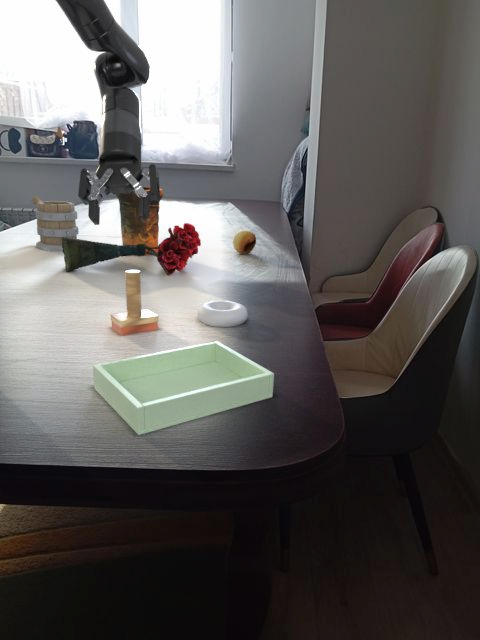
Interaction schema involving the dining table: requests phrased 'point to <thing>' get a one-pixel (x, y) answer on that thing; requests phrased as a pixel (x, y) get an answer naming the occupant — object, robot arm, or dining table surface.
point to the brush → (134, 309)
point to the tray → (180, 385)
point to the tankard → (54, 223)
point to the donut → (222, 313)
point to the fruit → (244, 241)
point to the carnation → (135, 250)
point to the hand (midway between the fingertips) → (119, 221)
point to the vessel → (138, 221)
